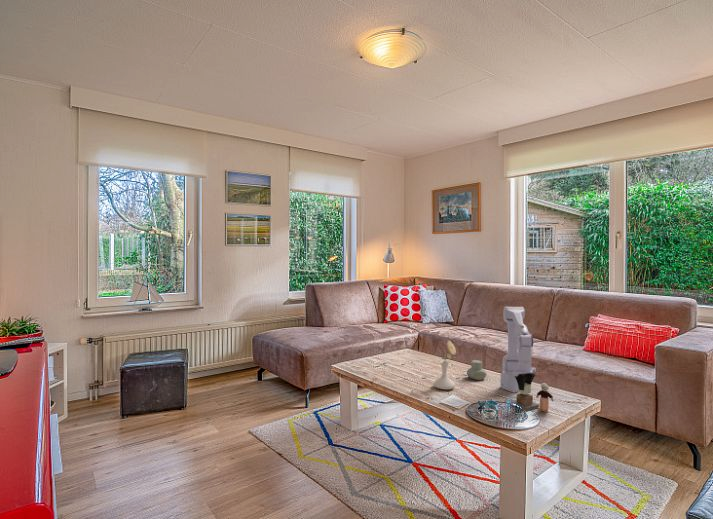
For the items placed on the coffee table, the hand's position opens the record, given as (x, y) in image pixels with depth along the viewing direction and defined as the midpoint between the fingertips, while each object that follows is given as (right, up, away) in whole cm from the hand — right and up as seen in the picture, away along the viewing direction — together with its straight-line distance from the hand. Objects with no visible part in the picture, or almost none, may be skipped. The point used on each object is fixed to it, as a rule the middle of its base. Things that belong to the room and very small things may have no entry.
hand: (524, 389), depth 189 cm
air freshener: (-10, -8, +43) cm, 44 cm away
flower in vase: (-31, -8, +26) cm, 42 cm away
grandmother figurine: (+7, -8, -6) cm, 12 cm away
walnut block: (0, -7, 0) cm, 7 cm away
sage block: (0, -2, 0) cm, 2 cm away
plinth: (0, -8, 0) cm, 8 cm away
